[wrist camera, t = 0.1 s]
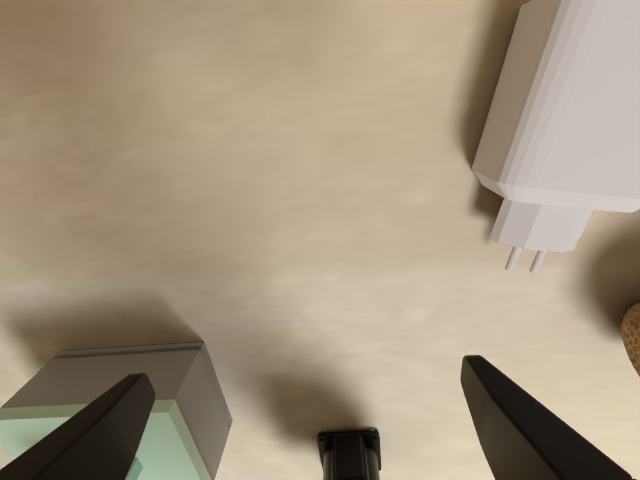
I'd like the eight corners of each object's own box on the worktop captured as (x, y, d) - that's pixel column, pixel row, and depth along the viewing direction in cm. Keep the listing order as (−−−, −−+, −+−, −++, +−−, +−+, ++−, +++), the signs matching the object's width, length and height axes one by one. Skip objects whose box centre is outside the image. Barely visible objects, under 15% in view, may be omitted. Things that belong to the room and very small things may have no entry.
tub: (232, 420, 32) (212, 486, 27) (108, 426, 33) (64, 490, 28) (203, 341, 28) (172, 401, 22) (60, 350, 29) (-2, 410, 23)
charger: (442, 248, 23) (513, 7, 17) (562, 260, 23) (678, 24, 17) (467, 283, 19) (576, -23, 13) (614, 297, 19) (796, 0, 13)
